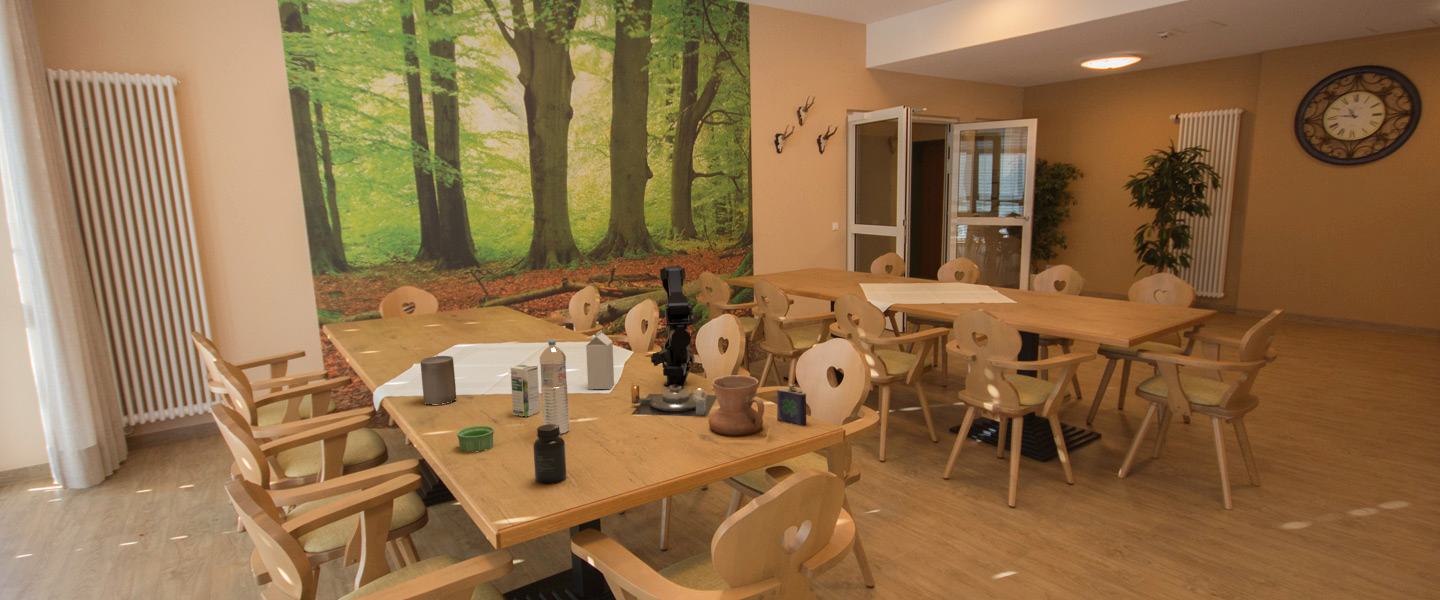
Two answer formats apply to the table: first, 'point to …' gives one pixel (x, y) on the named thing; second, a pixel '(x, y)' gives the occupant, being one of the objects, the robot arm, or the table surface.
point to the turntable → (661, 402)
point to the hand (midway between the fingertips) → (680, 391)
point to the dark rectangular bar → (700, 400)
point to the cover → (675, 394)
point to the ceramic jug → (736, 406)
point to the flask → (791, 406)
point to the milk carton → (600, 362)
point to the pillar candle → (438, 379)
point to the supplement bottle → (549, 455)
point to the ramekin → (475, 438)
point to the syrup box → (525, 389)
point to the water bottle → (554, 387)
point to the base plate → (648, 410)
